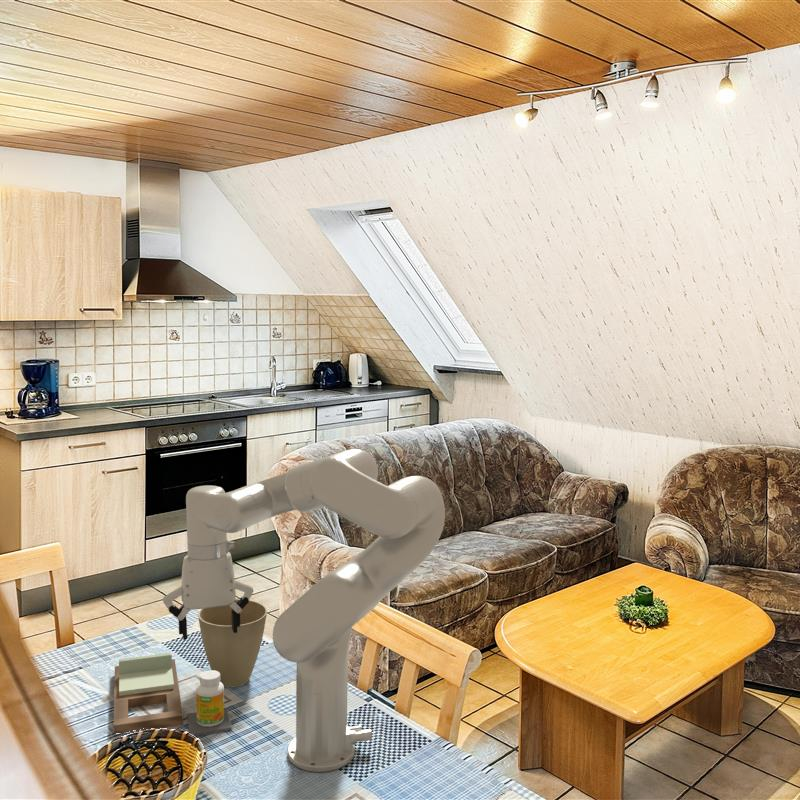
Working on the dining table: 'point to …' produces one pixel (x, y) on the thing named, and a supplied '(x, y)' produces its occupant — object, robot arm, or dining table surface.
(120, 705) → the well board
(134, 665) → the slide cover
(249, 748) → the dining table surface
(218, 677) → the supplement bottle
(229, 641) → the plant pot
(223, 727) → the pad
